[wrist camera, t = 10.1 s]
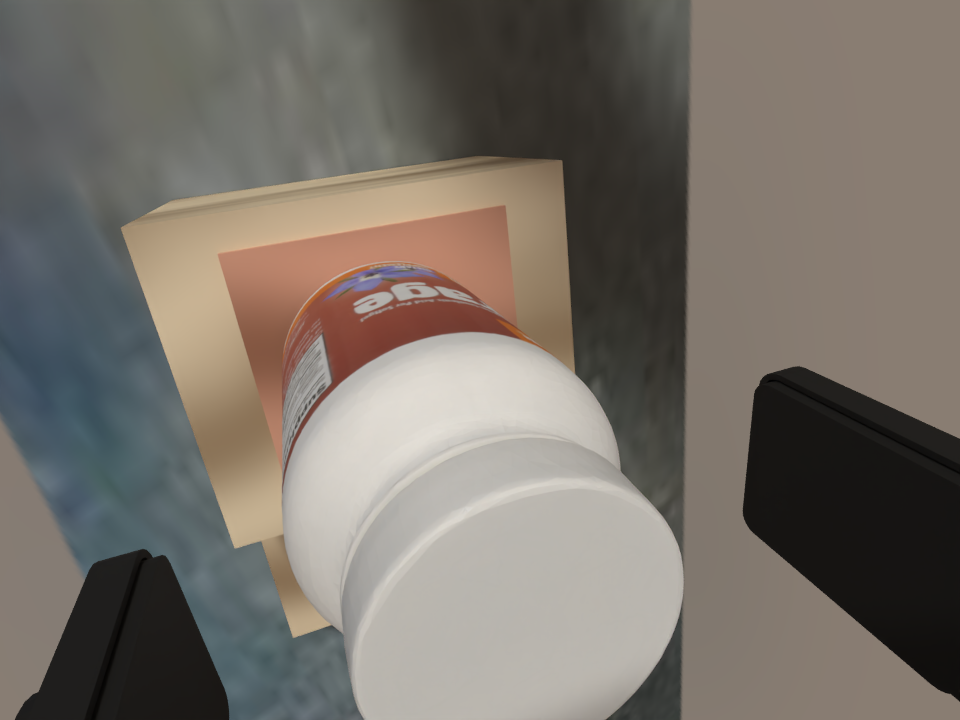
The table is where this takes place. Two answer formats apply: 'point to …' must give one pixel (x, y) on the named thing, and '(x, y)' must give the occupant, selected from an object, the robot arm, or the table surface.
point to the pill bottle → (464, 509)
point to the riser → (310, 264)
